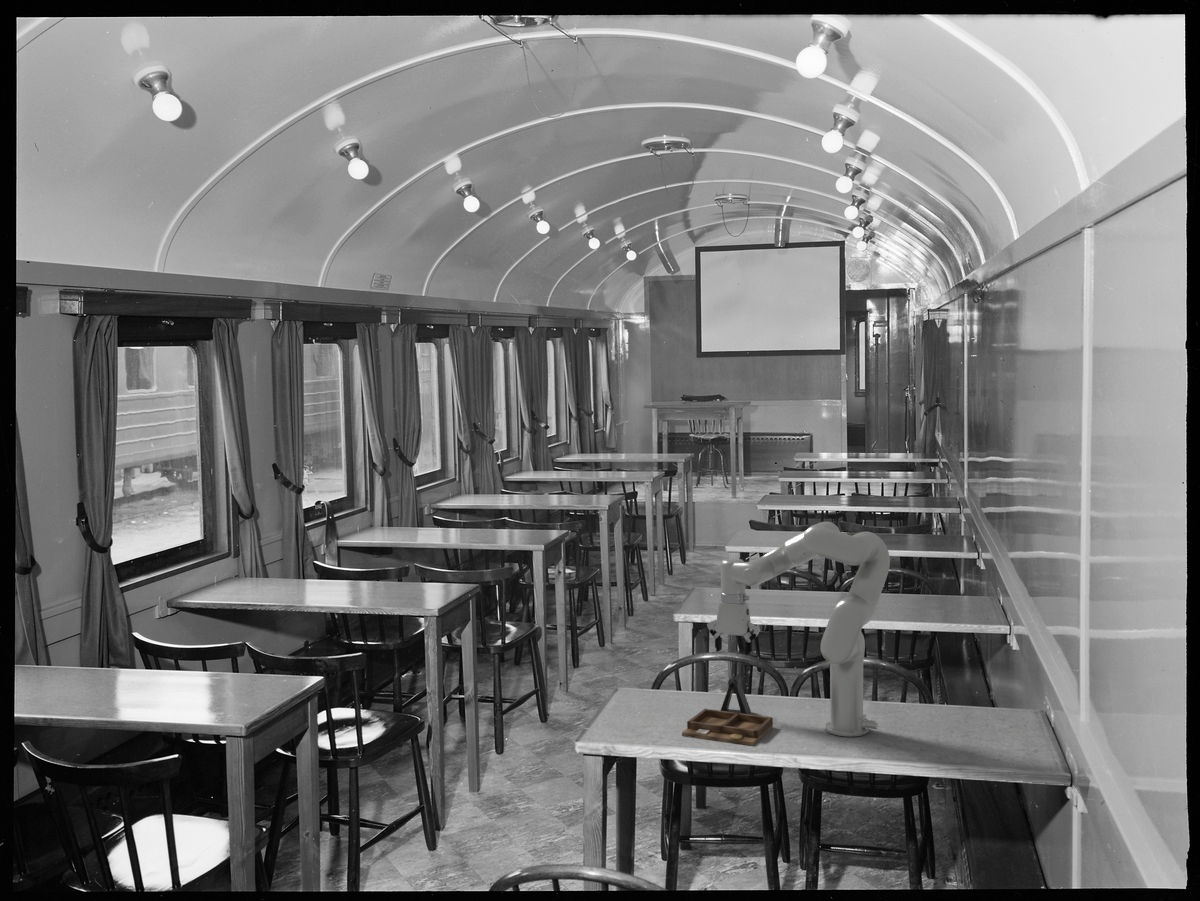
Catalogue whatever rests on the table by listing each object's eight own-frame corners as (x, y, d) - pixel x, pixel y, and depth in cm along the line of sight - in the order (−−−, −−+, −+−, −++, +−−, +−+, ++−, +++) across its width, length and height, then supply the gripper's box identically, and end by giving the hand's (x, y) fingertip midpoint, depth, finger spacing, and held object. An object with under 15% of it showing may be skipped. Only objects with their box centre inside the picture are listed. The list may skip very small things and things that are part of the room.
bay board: (772, 727, 322) (772, 717, 322) (752, 745, 306) (752, 735, 306) (704, 718, 333) (704, 708, 332) (682, 735, 317) (681, 725, 316)
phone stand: (750, 712, 338) (750, 674, 337) (747, 717, 332) (747, 679, 331) (722, 709, 341) (722, 672, 340) (719, 715, 335) (718, 677, 334)
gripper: (763, 598, 333) (763, 652, 335) (711, 594, 341) (712, 646, 343) (755, 603, 327) (755, 658, 328) (702, 598, 335) (703, 652, 336)
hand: (733, 652), depth 335 cm, fingers open, 9 cm apart
